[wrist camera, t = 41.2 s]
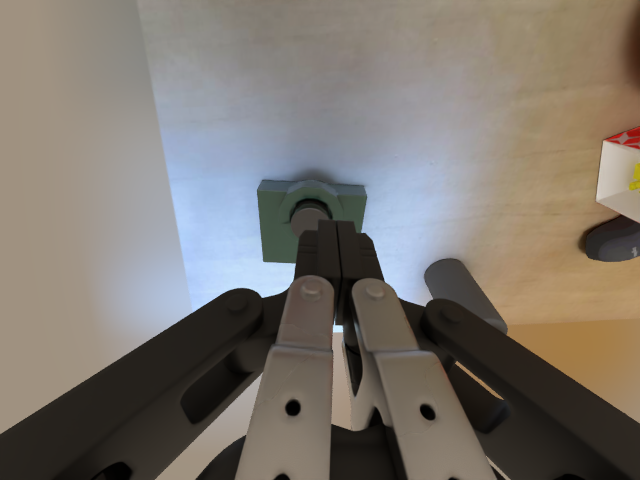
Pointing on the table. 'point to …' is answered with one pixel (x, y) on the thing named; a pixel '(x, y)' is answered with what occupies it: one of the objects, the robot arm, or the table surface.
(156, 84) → the table surface
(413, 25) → the table surface
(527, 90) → the table surface
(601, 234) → the computer mouse
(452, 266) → the bottle
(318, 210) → the brown push button
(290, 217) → the push button box
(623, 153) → the red white patterned cube
